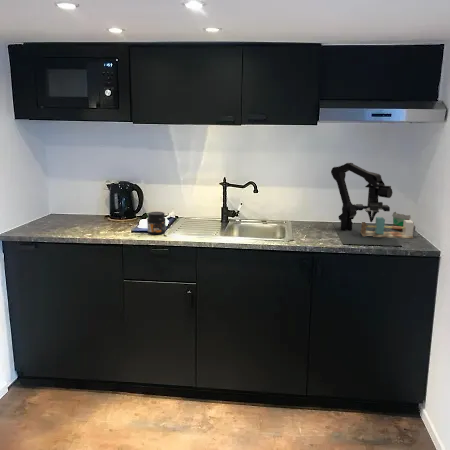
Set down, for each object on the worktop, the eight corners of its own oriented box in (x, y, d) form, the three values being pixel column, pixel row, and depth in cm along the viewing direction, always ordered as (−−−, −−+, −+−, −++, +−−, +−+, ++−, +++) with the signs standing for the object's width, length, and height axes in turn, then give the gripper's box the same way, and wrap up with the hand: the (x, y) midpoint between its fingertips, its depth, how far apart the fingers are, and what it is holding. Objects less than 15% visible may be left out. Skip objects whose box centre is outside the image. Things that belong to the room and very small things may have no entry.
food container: (386, 228, 295) (388, 212, 293) (393, 227, 298) (395, 211, 296) (401, 232, 285) (403, 216, 282) (409, 231, 288) (410, 215, 285)
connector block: (405, 235, 272) (406, 222, 271) (402, 233, 279) (403, 219, 277) (415, 236, 272) (416, 222, 270) (412, 233, 278) (413, 220, 277)
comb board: (362, 236, 274) (363, 224, 273) (360, 232, 284) (361, 220, 282) (412, 238, 271) (414, 226, 269) (408, 234, 280) (409, 222, 279)
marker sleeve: (376, 233, 275) (377, 219, 273) (374, 231, 281) (375, 217, 279) (383, 233, 274) (384, 219, 272) (381, 231, 280) (382, 217, 278)
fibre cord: (364, 227, 277) (364, 225, 277) (364, 227, 279) (364, 224, 278) (405, 229, 274) (405, 226, 274) (405, 228, 276) (405, 226, 275)
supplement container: (145, 235, 272) (144, 214, 269) (149, 230, 282) (149, 211, 279) (163, 235, 271) (163, 215, 268) (167, 231, 281) (167, 211, 278)
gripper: (358, 197, 267) (356, 224, 270) (392, 198, 264) (390, 225, 268) (356, 194, 277) (354, 220, 281) (389, 195, 275) (386, 221, 278)
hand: (371, 222), depth 277 cm, fingers closed
